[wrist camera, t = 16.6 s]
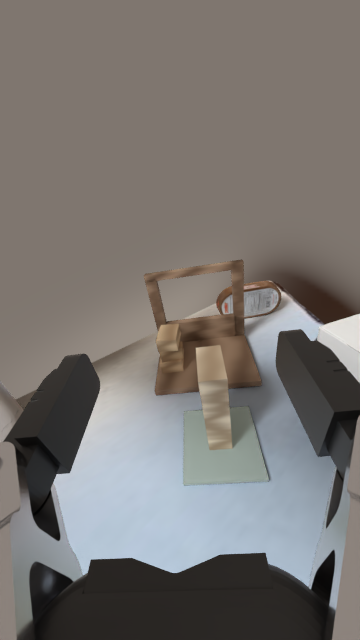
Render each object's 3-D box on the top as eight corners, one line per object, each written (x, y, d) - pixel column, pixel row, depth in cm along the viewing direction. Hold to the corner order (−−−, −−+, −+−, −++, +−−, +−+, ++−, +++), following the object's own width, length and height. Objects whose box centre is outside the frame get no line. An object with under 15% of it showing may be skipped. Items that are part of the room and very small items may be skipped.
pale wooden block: (209, 450, 30) (198, 381, 23) (206, 413, 35) (195, 347, 28) (232, 448, 30) (227, 378, 23) (225, 412, 34) (220, 345, 28)
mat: (183, 485, 27) (183, 484, 27) (184, 413, 36) (183, 411, 36) (268, 481, 26) (269, 479, 26) (248, 407, 35) (248, 406, 35)
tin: (276, 307, 58) (278, 276, 53) (281, 314, 55) (284, 281, 50) (217, 318, 58) (214, 287, 54) (220, 324, 55) (217, 293, 51)
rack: (156, 395, 40) (129, 311, 31) (162, 345, 52) (144, 274, 43) (261, 385, 38) (264, 293, 29) (243, 336, 50) (242, 259, 41)
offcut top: (158, 351, 40) (155, 341, 39) (163, 335, 45) (160, 324, 43) (177, 350, 40) (175, 339, 38) (180, 333, 44) (178, 323, 43)
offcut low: (162, 373, 42) (159, 363, 41) (164, 352, 48) (162, 343, 46) (183, 371, 42) (181, 361, 41) (183, 350, 47) (182, 341, 46)
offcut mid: (162, 362, 41) (159, 352, 40) (160, 344, 46) (158, 334, 45) (183, 358, 41) (181, 348, 40) (180, 340, 46) (178, 330, 45)
